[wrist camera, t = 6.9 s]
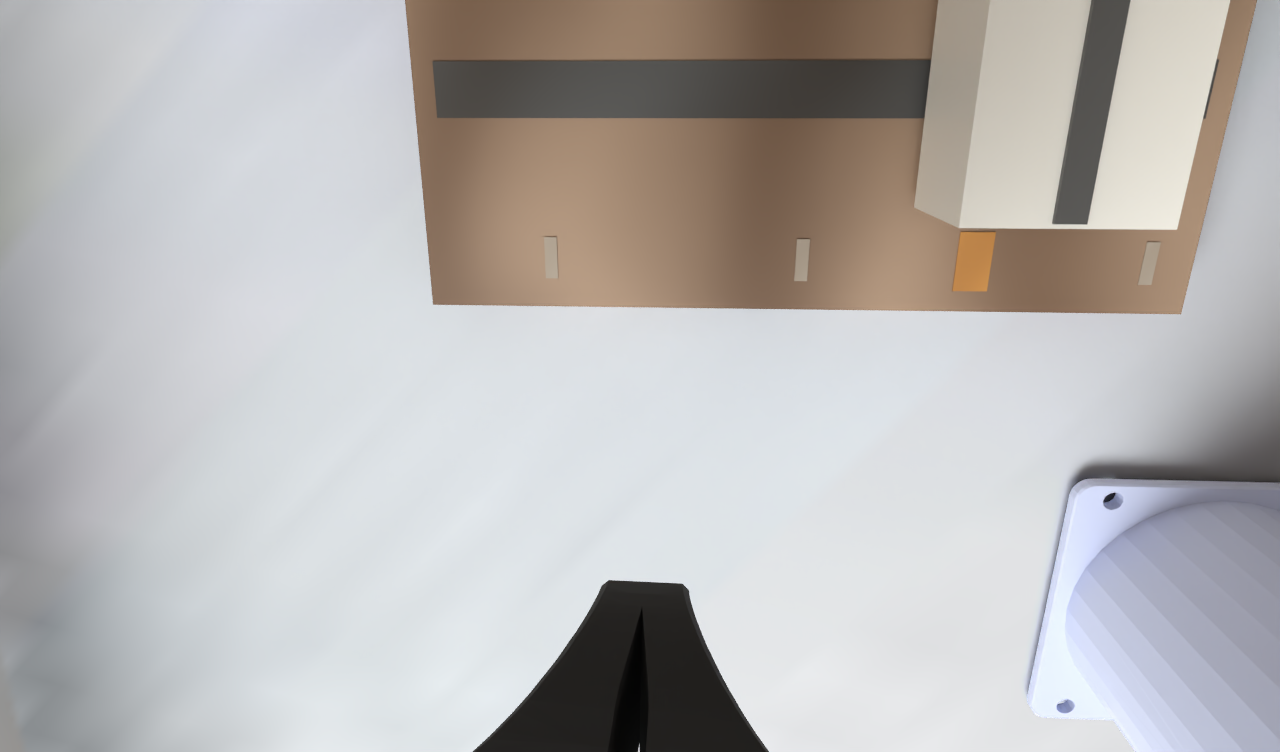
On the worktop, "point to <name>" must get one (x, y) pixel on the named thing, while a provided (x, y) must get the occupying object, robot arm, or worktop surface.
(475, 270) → the console board
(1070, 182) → the fader tab
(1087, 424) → the worktop surface
